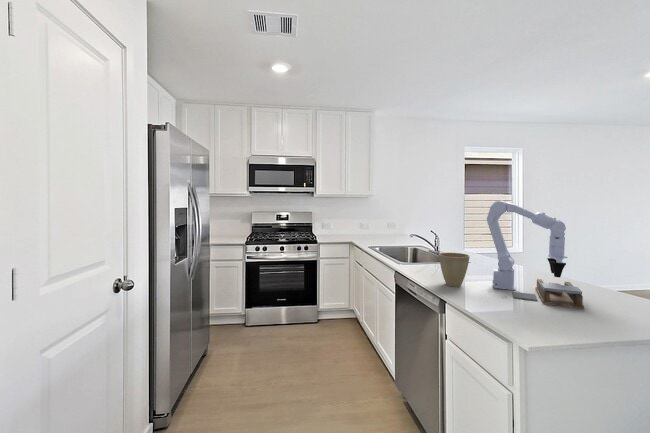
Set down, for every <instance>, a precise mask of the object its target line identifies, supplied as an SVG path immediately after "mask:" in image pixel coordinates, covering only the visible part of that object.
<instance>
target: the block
mask: <svg viewBox="0 0 650 433" xmlns="http://www.w3.org/2000/svg"><path fill="white" fill-rule="evenodd" d="M548 284H556V285H562V284H561V283H558V282H557V283H556V282H548ZM549 292H550V294H558V295H562V292H554V291H549Z"/></svg>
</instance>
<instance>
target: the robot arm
mask: <svg viewBox="0 0 650 433" xmlns="http://www.w3.org/2000/svg"><path fill="white" fill-rule="evenodd" d="M505 213H515V214H516V215H520V216H522V217H525V218H527V219H530V220H531V223H532V224H534V225H536V226H539V227H541V228H543V229H546V230H550V235H549V243H548V244H549V246H548V247H549V248H548V257H547V258H546V259H547V261H548V263H549V267H550V273H551V274H553V277H554V278H561V277H562V274H563V270H564V268H565V267H566V265H567V263H566V262H563V260H564V259H568V256H567V255H565V246H566V245H565V244H566V237H565V235H566V229H567V227H566V225H565V223H564V222H563V221H562V220H560V219H557V218H556V217H551V216H549V215H546V213H545V212H536V213H535V212H532V211H530V210H528V209H525V208H524V207H521V206H519V205H517V204H515V203H511V202H506V201H504V200H498V201H497V200H496V201H495V202H493V203H492V205H491V206H489V211H488V214H487V216H486V222H487V225H488V228H489V231H490V235H491V236H492V240H493V244H494V246H495V247H494V248H495V250H496V254H497V259H498V261H497V262H498V263H497V266H498V268H496V269H495V268H493V272H492V274H493V275H492V276H493V279H492V287H493V288H494V289H501V290H509V291H515V290H516V286H515V269H514V268H513V266H514V265H515V260H514V258H513V257H512V256H511V254H510V252H509V250H508V247H507V244H506V242H505V238H504V236H503V232H502V229H501V226H500V223H499V219H500V218H501V216H502V215H503V214H505Z"/></svg>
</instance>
